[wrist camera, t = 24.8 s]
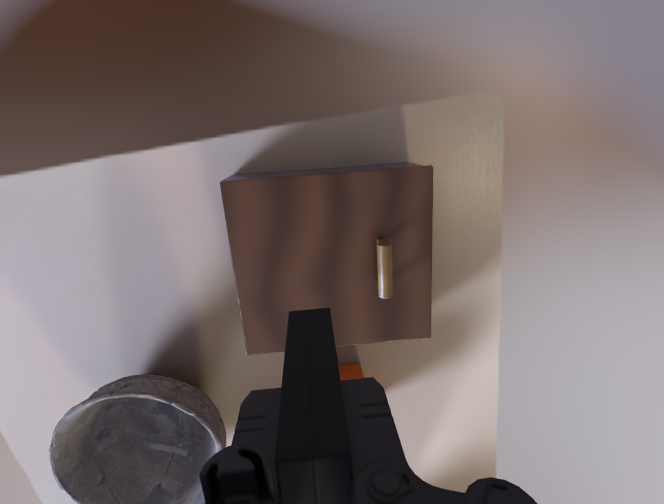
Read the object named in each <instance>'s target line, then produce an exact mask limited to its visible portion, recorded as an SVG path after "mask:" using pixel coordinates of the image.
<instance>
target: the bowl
mask: <svg viewBox="0 0 664 504" xmlns="http://www.w3.org/2000/svg"><path fill="white" fill-rule="evenodd" d="M51 443H52V444H51V446H50V450H49V452H50V462H51V466H52V470H53V474H54V477H55V480H56V482H57V484H58V485H59V487H60V488H61V489H62V490H63V491H64V492H65V493H66V494H67V495H68V496H69V497H71V498H72V499H73V500H74V501H75V502H76V503H77V504H205V499H204V495H203V491H202V486H201V482H200V477H199V474H200V472H201V470H202V468H203V466H204V464H205V463H206V462H207V461H208V460H209V459H210V458H211V457H212V456H213V455H214V454H215V453H217V452H219V451H220V450H222V449H224V448H225V447H226V431H225V427H224V423H223V421H222V418H221V416H220V413H219V411H218V409H217V408H216V406H215V405H214V404H213V402H212V401H211V400H210V398H209V397H208V396H207V395H206V394H204V393H203V392H202V391H200V390H199V389H198V388H196V387H194V386H191V385H189V384H187V383H185V382H183V381H178V380H175V379H173V378H169V377H165V376H159V375H135V376H134V375H133V376H128V377H124V378H121V379H119V380H116V381H114V382H111V383H109V384H107V385H105V386H103V387H101V388H100V389H99V390H98V391H96V392H94V393H93V394H92V395H91V396H90V397H89V398H88V399H87V400H85V401H83V402H81V403H80V404H78V405H76V406H75V407H73V408H71V409H70V410H69V411H68V412H67V413H66V414H65V415H64V417H63V418H62V419H61V420H60V421H59V422H58V424H57V426H56V428H55V430H54V432H53V437H52V441H51Z"/></svg>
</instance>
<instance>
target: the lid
mask: <svg viewBox="0 0 664 504" xmlns="http://www.w3.org/2000/svg"><path fill="white" fill-rule="evenodd" d="M220 187H221V193H222V200H223V206H224V212H225V219H226V225H227V232H228V238H229V245H230V251H231V257H232V264H233V270H234V277H235V283H236V289H237V296H238V302H239V309H240V315H241V322H242V328H243V334H244V341H245V347H246V354H247V355H256V354H266V353H277V352H285V346H286V336H287V325H288V315H289V311H297V310H308V309H319V308H330V311H331V318H332V325H333V332H334V339H335V346H336V347H339V346H349V345H360V344H370V343H380V342H391V341H401V340H411V339H422V338H431V284H432V211H433V166H432V165H427V166H414V167H401V168H387V169H374V170H361V171H347V172H334V173H321V174H307V175H294V176H281V177H267V178H254V179H241V180H228V181H221V182H220Z"/></svg>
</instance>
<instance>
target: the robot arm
mask: <svg viewBox="0 0 664 504" xmlns="http://www.w3.org/2000/svg"><path fill="white" fill-rule="evenodd" d="M199 477H200V482H201V486H202V491H203V495H204V499H205V504H537V503H536V502H535V501H534V499H533V498H532V497H530V496H529V495H528V494H527V493H526V492H525V491H523V490H522V489H521V488H520V487H518V486H516V485H514V484H512V483H510V482H508V481H505V480H501V479H497V478H491V477H490V478H484V479H478V480H477V481H475V482H474V483H472V484H471V485H469V486H468V489H467V491H466V493H461V492H456V491H451V490H446V489H442V488H438V487H435V486H432V485H430V484H428V483H426V482H424V481H423V480H421V479H420V478H419V477H418V476H417V475H415V474H414V472H413V471H412V470H411V469H410V467H409V465H408V463H407V461H406V459H405V455H404V452H403V449H402V446H401V442H400V439H399V436H398V433H397V430H396V426H395V423H394V420H393V417H392V415H391V410H390V407H389V404H388V401H387V397H386V394H385V391H384V388H383V387H382V386H381V385H380V384H379V383H378V382H377V381H376V380H375V379H374V378H373V377H371V378H361V379H351V380H341V381H340V374H339V367H338V360H337V353H336V346H335V339H334V332H333V325H332V318H331V311H330V308H319V309H308V310H297V311H289V315H288V325H287V336H286V346H285V357H284V368H283V378H282V388H274V389H264V390H254V391H251V392H250V393H249V395H248V396H247V397H246V398H245V400H244V401H243V402H242V404H241V407H240V411H239V416H238V421H237V424H236V428H235V434H234V436H233V441H232V445H231V446H228V447H226V448H224V449H222V450H220V451H219V452H217V453H215V454H214V455H213V456H212V457H211V458H210V459H209V460H208V461H207V462H206V463H205V464H204V466H203V468H202V470H201V472H200V474H199Z"/></svg>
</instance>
